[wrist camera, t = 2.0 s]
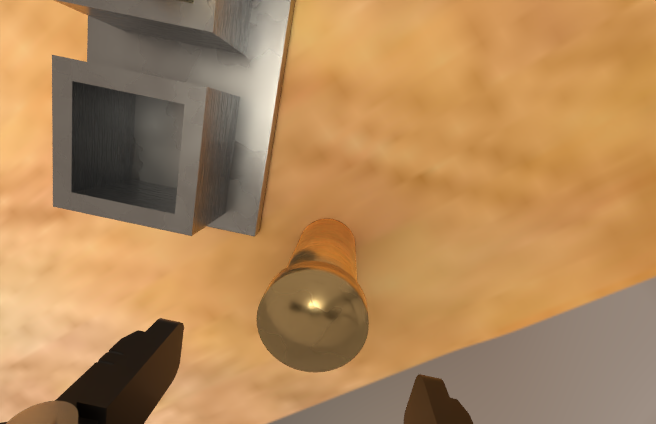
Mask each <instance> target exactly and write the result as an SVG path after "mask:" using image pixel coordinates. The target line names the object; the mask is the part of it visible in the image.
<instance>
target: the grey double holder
mask: <svg viewBox="0 0 656 424" xmlns="http://www.w3.org/2000/svg"><path fill="white" fill-rule="evenodd" d="M54 1H57V2H59V3H61V4H64V5H66V6H68V7H70V8H73V9H75V10H77V11H79V12H82V13H84V14H86V15H88V48H87V62H84V61H79V60H74V59H70V58H65V57H60V56H55V55H52V115H53V207H58V208H63V209H67V210H72V211H77V212H82V213H86V214H91V215H96V216H100V217H105V218H110V219H115V220H119V221H124V222H129V223H133V224H138V225H143V226H147V227H152V228H157V229H162V230H166V231H171V232H176V233H180V234H185V235H190V236H192V235H194V234H195V233H197V232H198V231H200V230H201V229H203V228H204V227H206V226H208V227H213V228H218V229H222V230H227V231H232V232H236V233H241V234H246V235H251V236H256V234H257V233H258V232H259V230H260V224H261V217H262V211H263V204H264V198H265V192H266V185H267V179H268V172H269V166H270V160H271V153H272V147H273V140H274V134H275V128H276V121H277V115H278V108H279V102H280V96H281V89H282V83H283V76H284V70H285V64H286V57H287V51H288V44H289V38H290V32H291V25H292V19H293V12H294V6H295V0H54Z"/></svg>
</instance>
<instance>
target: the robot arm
mask: <svg viewBox="0 0 656 424" xmlns="http://www.w3.org/2000/svg"><path fill="white" fill-rule="evenodd" d="M183 330H184V325H183V323H180V322H176V321H171V320H166V319H162V318H160V319H158V320H157V321H156V322H155V323H154V324H153V325H152V326H151V327H150V328H149V329H148V330H147V331H146V332H143V331H136V332H134V333H132V334H130V335H128V336H126V337H124V338H122V339H121V340H119V341H118V342H117V343H116V344H115V345H114V346H113V347H112V348H111V349H110V350H109V352H108V353H106V354H105V355H103V356H102V357H101V358H100V359H99V361H98V363H97V362H96V363H95V364H94V365H93V366H92V367H91V368H90V369H89V370H87V371H86V372H85V373H84V374H83V375H82V376H81V377H80V378H79V379H78V380H77V381H76V382H75V383H74V384H72V385H71V386H70V387H69V388H68V389H67V390H66V391H65V392H64V393H63V394H62V395H61V396H60V397H59V398H58V399H56V400H55V401H49V402H44V403H40V404H37V405H34V406H32V407H29V408H27V409H25V410H23V411H22V412H20V413H18V414H17V415H16V416H14V417H13V418H12V419H11V420H9V421H8V422H4V423H0V424H144V422H145V421H146V420H147V418H148V417H149V415H150V414H151V412H152V411H153V409H154V408H155V406H156V405H157V403H158V402H159V401H160V399H161V398H162V396H163V395H164V393H165V392H166V390H167V389H168V387H169V386H170V384H171V383H172V381H173V380H174V378H175V376H176V373H177V371H178V368H179V364H180V357H181V348H182V339H183ZM404 424H473V422H472V420H471V417H470V415H469V413H468V412H467V411H466V410H465V409H464V407H463V406H462V405H461V404H460V402H459V401H458V400H457V399H453V398H450V397H449V395H448V392H447V389H446V387H445V384H444V382H443V380H442V379H439V378H434V377H429V376H425V375H418V376H417V377H416V380H415V383H414V386H413V389H412V392H411V395H410V398H409V401H408V404H407V407H406V410H405V415H404Z"/></svg>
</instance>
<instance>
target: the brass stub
mask: <svg viewBox="0 0 656 424" xmlns="http://www.w3.org/2000/svg"><path fill="white" fill-rule="evenodd" d="M368 324H369V323H368V312H367V303H366V299H365V295H364V293H363V290H362V289H361V287H360V285H359V284H358V282H357V270H356V249H355V240H354V236H353V234H352V232H351V231H350V229H349V228H348V227H347V226H346V225H344V224H343V223H341V222H339V221H337V220H334V219H320V220H317V221H314V222H313V223H311V224H310V225H308V226H307V227H306V228H305V230H304V231H303V233H302V235H301V237H300V239H299V242H298V244H297V246H296V248H295V250H294V252H293V255H292V257H291V259H290V261H289V263H288V266H287V268H285V269H284V270H282V271H281V272H280V273H279V274H278V275H276V276H275V278H274V279H273V280H272V281H271V283H270V285H269V286H268V288H267V290H266V292H265V294H264V296H263V298H262V300H261V302H260V304H259V307H258V312H257V327H258V332H259V335H260V338H261V340H262V342H263V344H264V345H265V347H266V348H267V350H268V351H269V352H270V353H271V354H272V355H273V356H274V357H275V358H276V359H278V360H279V361H280V362H282V363H284V364H285V365H287V366H289V367H292V368H294V369H297V370H301V371H306V372H325V371H330V370H333V369H337V368H339V367H341V366H343V365H345V364H346V363H348V362H349V361H351V360H352V359H353V358H354V357H355V356H356V355H357V354H358V353H359V351H360V350H361V349H362V347H363V345H364V343H365V341H366V338H367V334H368Z"/></svg>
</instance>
